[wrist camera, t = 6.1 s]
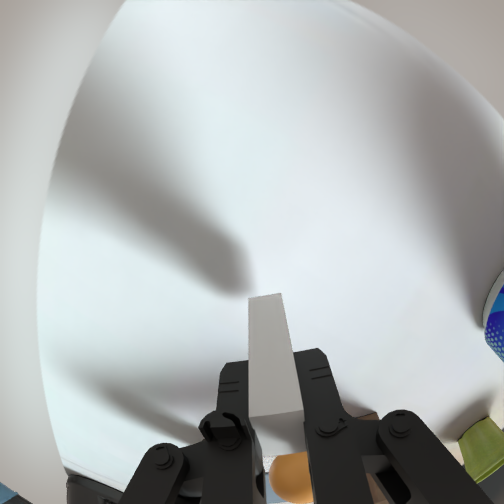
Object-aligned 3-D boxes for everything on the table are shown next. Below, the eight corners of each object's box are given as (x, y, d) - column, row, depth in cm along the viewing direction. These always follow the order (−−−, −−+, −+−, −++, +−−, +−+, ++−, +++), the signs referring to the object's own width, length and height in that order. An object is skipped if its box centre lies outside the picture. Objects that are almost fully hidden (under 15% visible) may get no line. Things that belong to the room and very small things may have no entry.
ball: (272, 469, 22) (273, 515, 16) (263, 437, 21) (263, 491, 15) (331, 459, 22) (341, 505, 16) (331, 426, 20) (345, 478, 14)
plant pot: (441, 445, 25) (460, 489, 17) (493, 402, 22) (519, 444, 14) (456, 450, 27) (473, 487, 19) (500, 414, 24) (521, 448, 16)
